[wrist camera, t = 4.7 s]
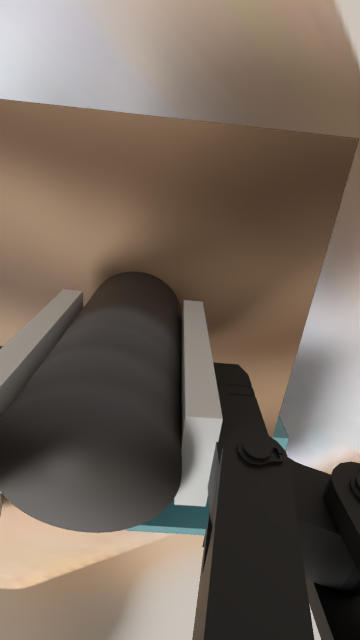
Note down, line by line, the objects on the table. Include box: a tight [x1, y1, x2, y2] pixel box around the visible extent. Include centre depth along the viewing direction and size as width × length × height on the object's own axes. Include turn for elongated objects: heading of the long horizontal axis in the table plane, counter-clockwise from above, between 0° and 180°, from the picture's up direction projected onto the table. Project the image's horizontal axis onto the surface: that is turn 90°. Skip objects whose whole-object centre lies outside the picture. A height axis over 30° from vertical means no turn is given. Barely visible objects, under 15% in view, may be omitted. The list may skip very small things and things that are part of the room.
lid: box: [0, 99, 359, 533], centre depth 11 cm, size 15×15×9 cm
